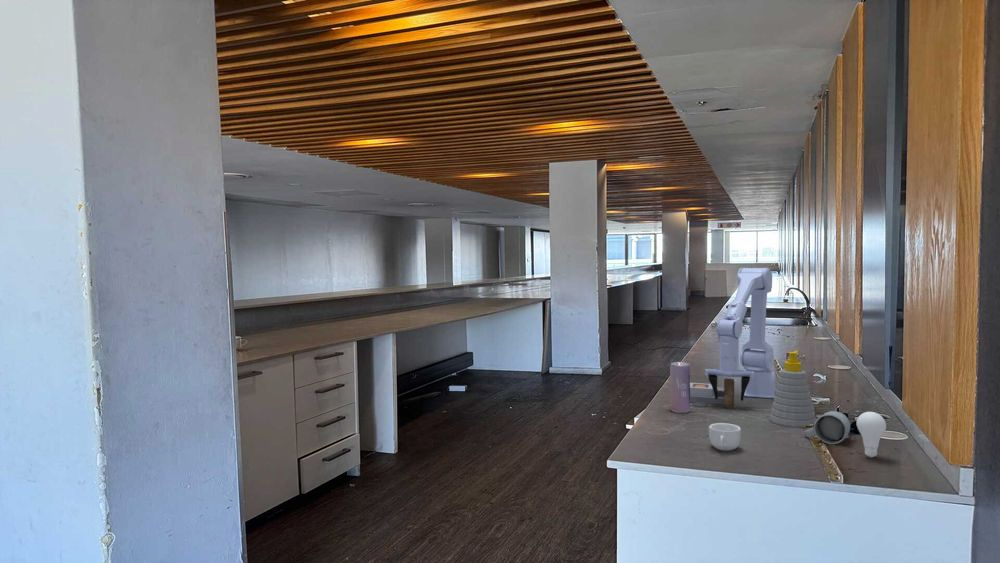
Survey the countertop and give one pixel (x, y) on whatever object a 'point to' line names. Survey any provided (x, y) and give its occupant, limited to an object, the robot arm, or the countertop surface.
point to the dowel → (729, 393)
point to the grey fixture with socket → (705, 394)
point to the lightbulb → (871, 431)
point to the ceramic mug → (830, 427)
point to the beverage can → (680, 387)
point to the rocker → (720, 389)
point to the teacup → (724, 436)
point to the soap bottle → (792, 396)
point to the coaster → (699, 404)
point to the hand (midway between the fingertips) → (729, 399)
